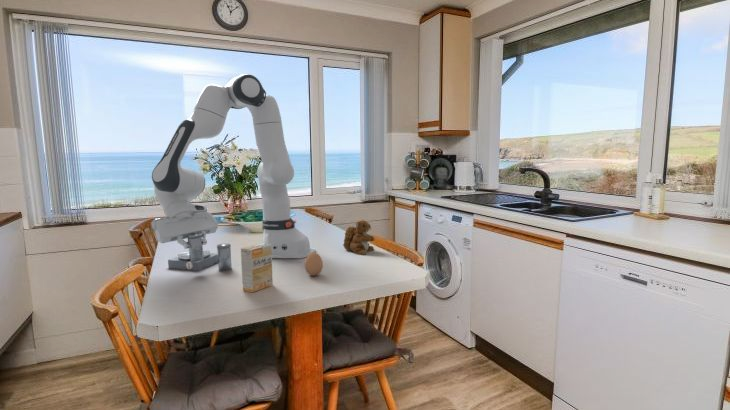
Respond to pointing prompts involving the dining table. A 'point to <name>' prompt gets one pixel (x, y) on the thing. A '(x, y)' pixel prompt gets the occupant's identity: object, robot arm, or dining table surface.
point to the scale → (193, 263)
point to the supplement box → (256, 267)
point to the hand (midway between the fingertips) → (196, 245)
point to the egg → (313, 264)
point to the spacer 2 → (224, 257)
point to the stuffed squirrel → (358, 238)
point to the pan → (186, 255)
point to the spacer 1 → (195, 247)
